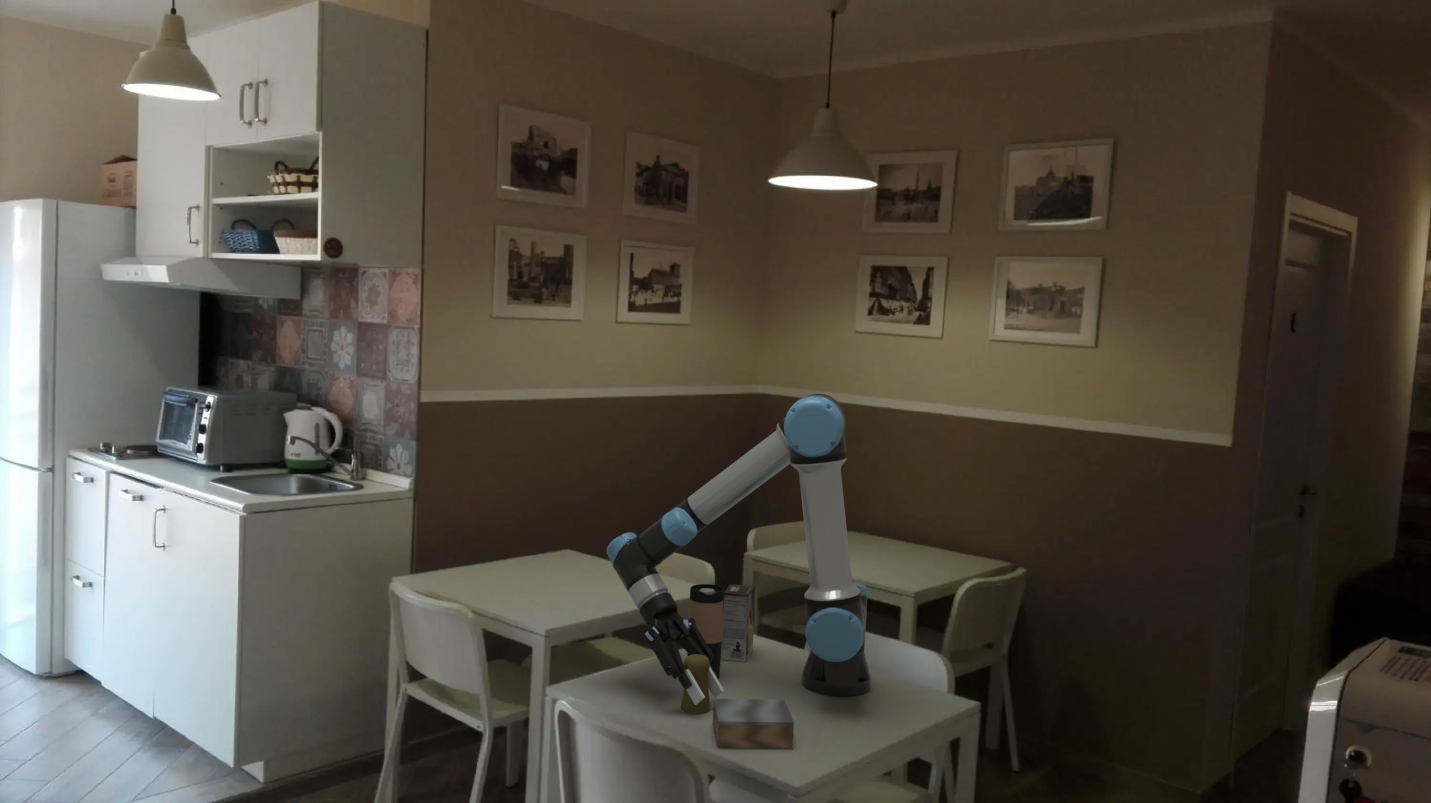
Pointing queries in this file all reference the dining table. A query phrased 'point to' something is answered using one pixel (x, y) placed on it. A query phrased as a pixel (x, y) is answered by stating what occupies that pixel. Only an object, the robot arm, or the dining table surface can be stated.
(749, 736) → the walnut stand
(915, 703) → the dining table surface
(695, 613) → the travel mug
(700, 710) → the cork
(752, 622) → the coffee box
